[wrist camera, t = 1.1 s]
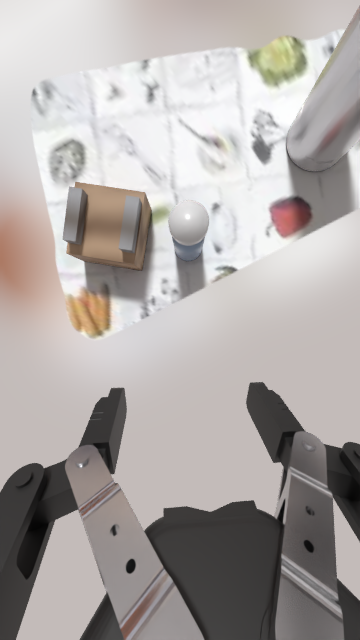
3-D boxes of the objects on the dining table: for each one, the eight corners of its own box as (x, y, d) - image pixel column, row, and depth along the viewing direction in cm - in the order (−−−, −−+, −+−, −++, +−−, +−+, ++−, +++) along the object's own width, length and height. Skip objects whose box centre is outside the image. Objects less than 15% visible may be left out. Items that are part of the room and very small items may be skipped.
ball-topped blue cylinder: (176, 230, 33) (172, 197, 23) (204, 235, 33) (212, 203, 23) (172, 259, 33) (165, 238, 23) (200, 263, 33) (205, 244, 23)
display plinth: (92, 200, 33) (69, 174, 27) (151, 209, 33) (142, 185, 27) (84, 261, 34) (59, 250, 28) (142, 270, 34) (131, 261, 27)
